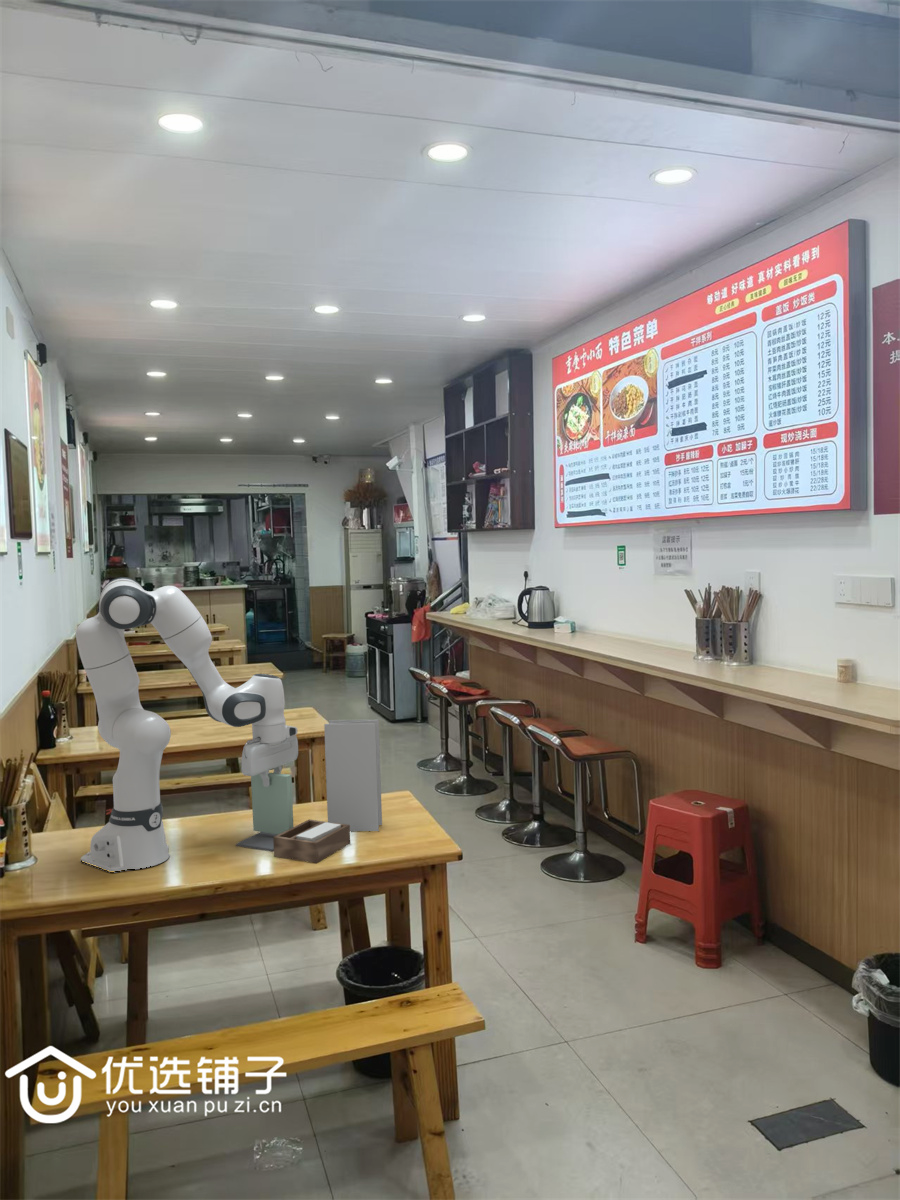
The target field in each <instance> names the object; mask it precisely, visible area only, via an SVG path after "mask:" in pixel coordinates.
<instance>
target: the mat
mask: <svg viewBox="0 0 900 1200" xmlns="http://www.w3.org/2000/svg"><path fill="white" fill-rule="evenodd" d="M277 835H279V834H272V833H265V832H258V833H256V834H254V835H252V836H249V837H247V838H245V839H243V840H241V841H238V842H237V843H236V847H240V848H241V847H242V848H246V849H247V848H249V849H254V850H261V851H267V852H273V853H274V842H273V837H275V836H277Z"/></svg>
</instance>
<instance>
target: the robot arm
mask: <svg viewBox="0 0 900 1200" xmlns="http://www.w3.org/2000/svg"><path fill="white" fill-rule="evenodd" d="M148 624H151V625H152V626H153V628H154V629H156V631H157V633H158V634H159V636H160V637H161V639H162V640H163V642H164V643H165V644H166V646H167V647H168V649H169V650H170V651H171V652H172V653H173V654H174V655H175V656H176V657H177V658H178V660H180V661H181V662H182V664H183V665H184V666H185V668H187V670H188V672H189V673H190V675H191V676H192V678H193V680H194V681H195V683H196V684H197V685H196V686H198V688H199V689H200V691H201V694H202V698H203V701H204V708H205V711H206V713H207V716H209V717H210V718H211V719H212V720H213V721H216V722H217V723H223V724H225V725H227V726H231V727H235V728H239V727H240V728H241V727H245V726H249V725H252V726H251V731H252V739H249V740H246V743H245V744H244V746H243V750H242V754H241V773H242V774H243V775H244V776H247V777H251V776H255V775H257V774H260V776H261V778H262V780H263V786H265V787H268V786H270V785H272V783H271V782H272V779H269V777H268V774H269V773H270V770H273V772H272V773H279V774H282V770H283V765H285V764H288V763H292V762H294V761H296V760H297V759H298V756H299V741H298V737H297V736H296V735H298V733H299V732H298V727H297V726H293V725H287V724H286V723H287V722H286V717H285V713H284V712H285V707H286V702H285V701H286V699H285V692H284V691H285V690H284V685H283V681H282V679H281V678H280V677H279V676H277V675H274V674H268V673H255V674H253V675H252V677H251V678H249V679H248V680H247V681H246V682H244V683H243V684H241V685H240V686H237V687H234V686H232V685H230V684H229V683H228V682H226V681H225V679H224V678H222V675H221V674H220V672H219V671H218V669H217V667H216V666H215V664H214V662H213V661H212V659H211V656H210V654H209V649H210V648H211V645H212V641H213V640H212V639H213V636H212V633H211V631H210V629H209V627H208V624H207V622H206V621H205V619H204V617H203V616H202V614H201V613H200V612H199V610H198V608H197V607H196V605H195V604H194V603H193V602H192V601H191V600H190V598H189V597H188V596H186V594H185V593H184V592H183V591H182V590H181V589H180V588H178V587H177V586H175V585H165V586H164V585H163V586H161V587H158V588H156V589H155V590H152V591H149V590H148V591H147V590H145V589H144V587H143V585H141V583H139V582H138V581H137V580H135V579H133V578H130V577H124V576H121V577H116V578H112V579H111V580H109V581H108V582H107V583H105V585H104V586H103V587H102V590H101V592H100V596H99V601H98V606H97V614H95V615H94V616H92V617H89V618H86V619H85V620H83V621H82V622H81V623H80V624H79V625H77V627H76V629H75V630H76V631H75V638H76V639H75V640H76V644H77V650H78V654H79V657H80V660H81V663H82V666H83V669H84V671H85V674H86V676H87V679H88V681H89V685H90V687H91V689H92V693H93V695H94V698H95V703H96V704H95V705H96V708H97V709H96V710H97V715H98V722H97V723H98V724H97V729H98V733H99V735H100V737H101V738H102V739H103V740H104V741H105V742H106V744H108V745H109V746H110V747H112V748H116V749H118V751H119V760H118V765H117V768H116V771H115V773H114V775H113V777H112V791H113V793H112V794H113V807H111V808H109V809H106V810H105V811H106V815H110V816H109V819H108V822H107V823H105V825H103V827H101V828H100V829H99V830H98V831H96V833H94V834H93V836H92V837H91V839H90V847H89V848H90V851H88V852H87V853H85V854H83V855H82V856H81V857H80V861H81V860H82V861H84V862H87V863H90V864H93V865H96V866H98V867H101V868H103V869H106V870H109V871H120V872H122V871H121V870H125V871H128V870H127V869H135V870H140V868H142V869H146V867H147V868H150V866H151V867H153V866H157V865H159V864H161V863H163V862H166V861H167V860H168V859H169V858H170V852H169V850H170V847H169V845H168V844H167V840H166V832H165V827H164V821H163V814H164V812H163V809H164V808H163V803H162V801H161V790H160V789H161V788H160V787H161V786H160V771H161V770H160V769H161V763H162V758H163V753H164V750H165V749H166V748H167V746H168V745H169V743H170V740H171V735H172V733H171V732H172V731H171V728H170V725H169V723H168V722H167V721H166V720H165V719H164V718H163V717H162V716H161V715H160V714H158V713H156V712H155V711H150V710H146V709H144V708H143V706H142V704H141V701H140V695H139V694H140V693H139V685H140V683H141V681H140V677H139V674H138V671H137V668H136V667H135V663H134V661H133V658H132V655H131V652H130V650H129V648H128V645H127V641H126V639H125V630H130V629H135V628H138V627H143V626H145V625H148Z"/></svg>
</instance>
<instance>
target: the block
mask: <svg viewBox="0 0 900 1200" xmlns="http://www.w3.org/2000/svg"><path fill="white" fill-rule="evenodd" d="M268 777H269V779H272V782H271V783H272V785H270V786H268V787H265V786H263V780H262V778H261V776H260V774H257V775H255V776H250V781H251V785H250V786H251V787H250V788H251V809H252V826H253V827H252V828H253V829H252V830H253V831H254V832H258V833H260V832H265V833H272V834H281V833H283V832H285V831H287V830H289V829H291V828H293V827H295V826H294V807H293V805H294V804H293V802H294V801H293V784H292V783H293V780H292V779H293V778H292V774H286V773H280V774H279V773H273V772H269V774H268Z"/></svg>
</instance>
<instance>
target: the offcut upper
mask: <svg viewBox="0 0 900 1200" xmlns="http://www.w3.org/2000/svg"><path fill="white" fill-rule="evenodd" d="M339 828H341V825H340V824H334V823H328V821H325V823H323V824H321V825H319V826H316V827H314V828H312V829H310V830H308V831H306V832H303V833H301V834H299V835H297V836H296V839H300V840H307V841H314V842H315V841H317V840H319V839H321V838H322V837H324V836H326V835H328V834H330V833H332V832H333V831H335V830H337V829H339Z"/></svg>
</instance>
